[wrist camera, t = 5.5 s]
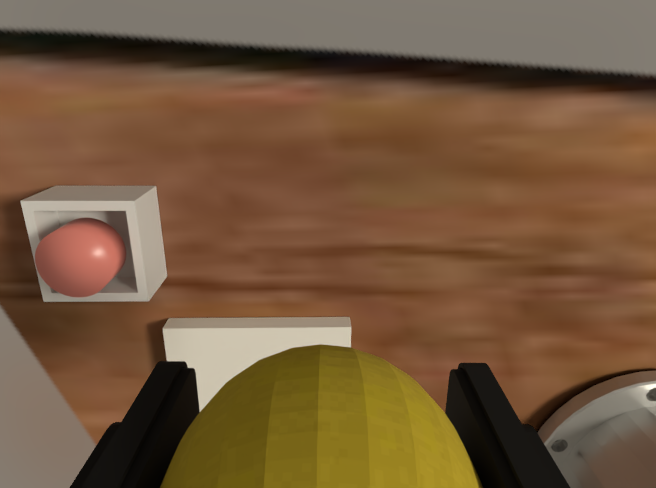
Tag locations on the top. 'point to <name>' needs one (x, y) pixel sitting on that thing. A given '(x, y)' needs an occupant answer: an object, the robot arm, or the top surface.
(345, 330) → the paper pad
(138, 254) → the button base
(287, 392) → the lemon
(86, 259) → the button
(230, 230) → the top surface
